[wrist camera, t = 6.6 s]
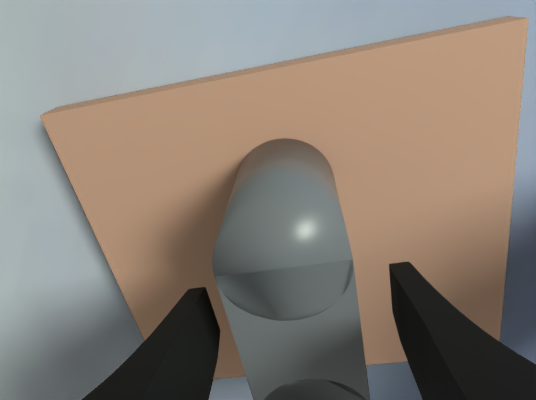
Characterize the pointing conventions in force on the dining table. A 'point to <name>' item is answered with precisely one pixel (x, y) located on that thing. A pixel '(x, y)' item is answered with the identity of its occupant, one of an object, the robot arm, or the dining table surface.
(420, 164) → the mat
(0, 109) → the dining table surface
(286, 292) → the plug
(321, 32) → the dining table surface
